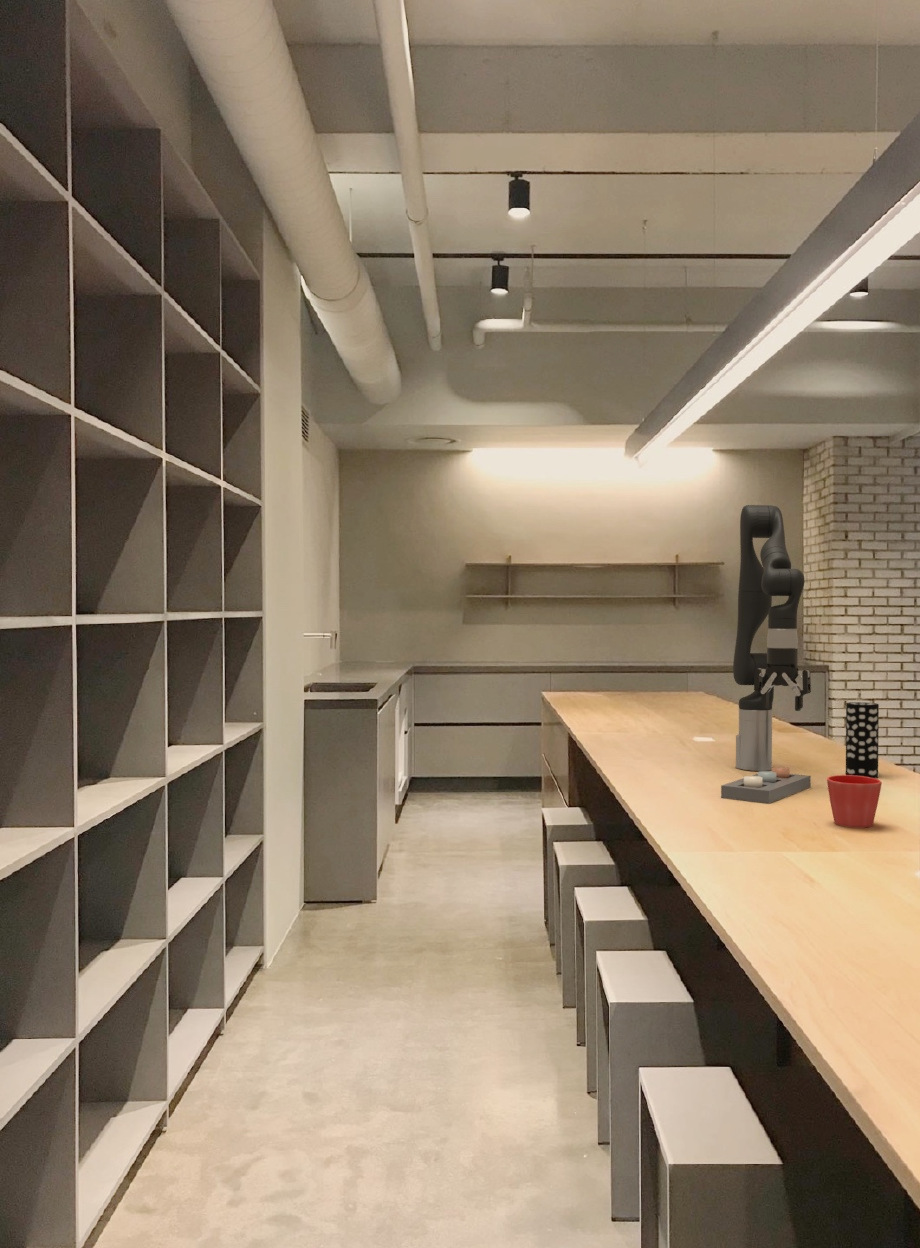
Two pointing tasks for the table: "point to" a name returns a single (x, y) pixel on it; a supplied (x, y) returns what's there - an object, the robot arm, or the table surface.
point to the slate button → (767, 776)
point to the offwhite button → (753, 781)
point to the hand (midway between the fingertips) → (781, 709)
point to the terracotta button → (781, 772)
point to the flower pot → (853, 799)
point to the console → (766, 789)
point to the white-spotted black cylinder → (862, 739)
